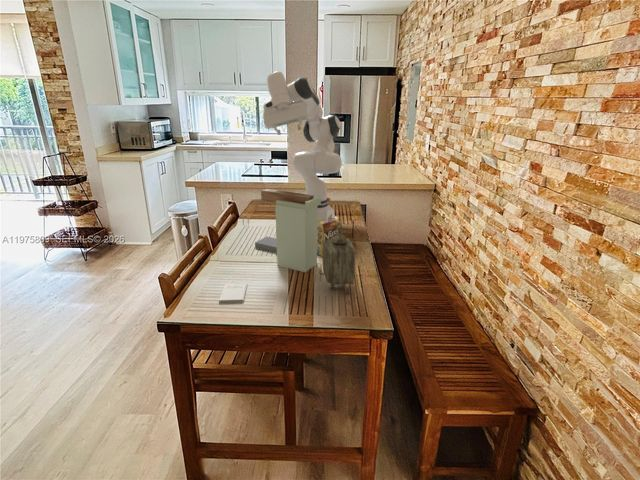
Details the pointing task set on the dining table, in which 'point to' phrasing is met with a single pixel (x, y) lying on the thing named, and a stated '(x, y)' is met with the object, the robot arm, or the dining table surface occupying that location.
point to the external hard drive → (233, 293)
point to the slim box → (284, 196)
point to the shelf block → (297, 234)
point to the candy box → (326, 232)
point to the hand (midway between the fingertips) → (289, 131)
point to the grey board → (267, 244)
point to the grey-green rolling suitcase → (339, 260)
